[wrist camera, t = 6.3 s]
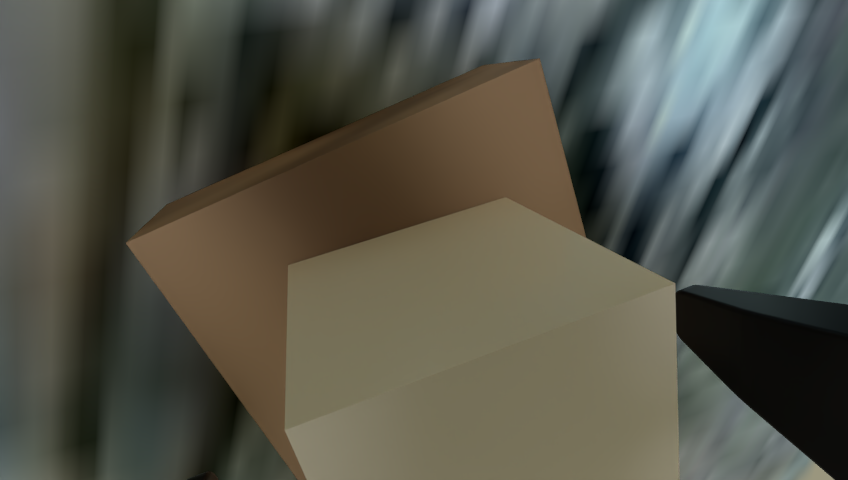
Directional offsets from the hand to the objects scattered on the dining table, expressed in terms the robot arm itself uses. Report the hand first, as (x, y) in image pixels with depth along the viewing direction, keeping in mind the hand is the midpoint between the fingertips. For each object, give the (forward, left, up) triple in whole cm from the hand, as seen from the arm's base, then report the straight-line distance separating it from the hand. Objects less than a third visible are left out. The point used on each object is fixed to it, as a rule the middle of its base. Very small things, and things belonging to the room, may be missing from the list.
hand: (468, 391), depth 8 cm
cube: (0, 0, -3) cm, 3 cm away
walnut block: (0, 0, -6) cm, 6 cm away
